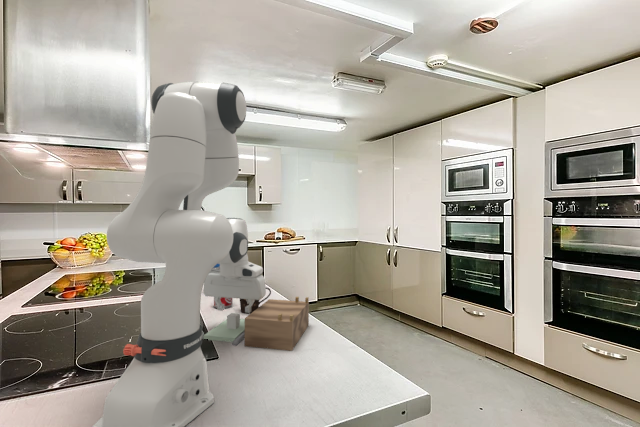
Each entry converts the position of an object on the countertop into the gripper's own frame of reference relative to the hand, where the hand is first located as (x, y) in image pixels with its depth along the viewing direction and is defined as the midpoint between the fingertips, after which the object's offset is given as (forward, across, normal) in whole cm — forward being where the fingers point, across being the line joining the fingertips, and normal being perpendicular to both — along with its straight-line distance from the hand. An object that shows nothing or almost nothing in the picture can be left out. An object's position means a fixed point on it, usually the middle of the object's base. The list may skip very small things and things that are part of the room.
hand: (234, 311), depth 106 cm
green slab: (+7, -1, -1) cm, 7 cm away
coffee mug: (+7, -2, +19) cm, 20 cm away
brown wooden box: (+6, +15, -1) cm, 17 cm away
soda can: (+7, -16, +22) cm, 28 cm away
